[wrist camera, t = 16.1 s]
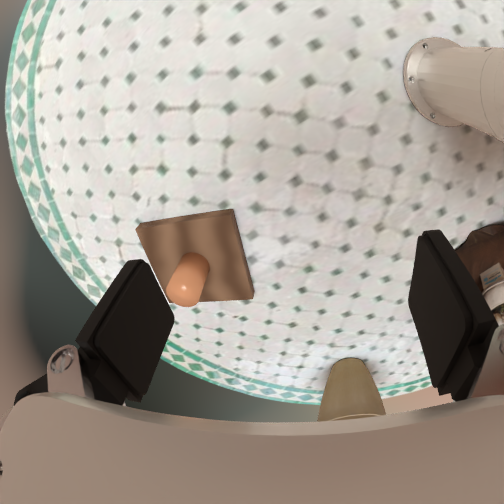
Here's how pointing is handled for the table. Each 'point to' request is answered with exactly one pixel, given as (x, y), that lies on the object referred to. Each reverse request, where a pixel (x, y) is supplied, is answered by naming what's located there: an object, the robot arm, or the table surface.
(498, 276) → the potted plant
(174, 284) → the terracotta cylinder
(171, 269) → the walnut board
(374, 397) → the plant pot
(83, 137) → the table surface
